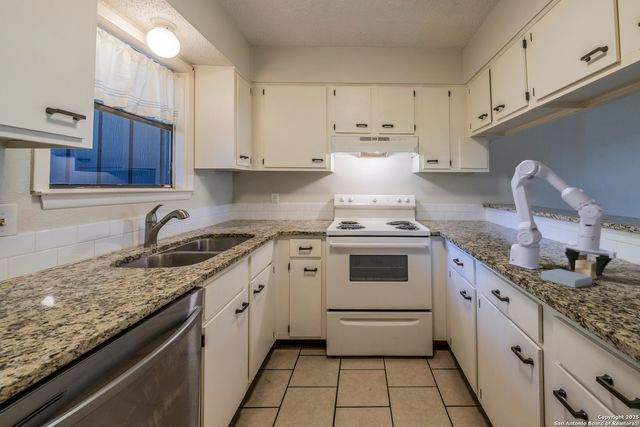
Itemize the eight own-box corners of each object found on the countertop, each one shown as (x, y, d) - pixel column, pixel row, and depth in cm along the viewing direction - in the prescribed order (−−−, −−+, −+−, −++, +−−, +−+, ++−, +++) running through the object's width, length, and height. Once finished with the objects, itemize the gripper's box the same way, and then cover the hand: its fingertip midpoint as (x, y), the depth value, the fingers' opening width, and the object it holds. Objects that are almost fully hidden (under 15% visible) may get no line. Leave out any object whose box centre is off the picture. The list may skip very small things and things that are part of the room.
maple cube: (574, 276, 102) (575, 260, 101) (581, 274, 103) (582, 259, 103) (589, 279, 97) (591, 263, 97) (596, 278, 99) (598, 262, 98)
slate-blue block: (540, 279, 99) (541, 271, 99) (557, 276, 103) (558, 268, 102) (574, 289, 90) (575, 280, 89) (591, 285, 93) (592, 276, 93)
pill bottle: (587, 269, 109) (589, 245, 108) (583, 272, 106) (585, 247, 105) (570, 266, 114) (571, 243, 113) (565, 268, 111) (567, 245, 110)
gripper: (622, 239, 94) (618, 277, 95) (571, 232, 107) (568, 266, 108) (611, 240, 91) (607, 279, 92) (560, 233, 105) (557, 268, 106)
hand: (585, 272), depth 100 cm, fingers open, 7 cm apart
